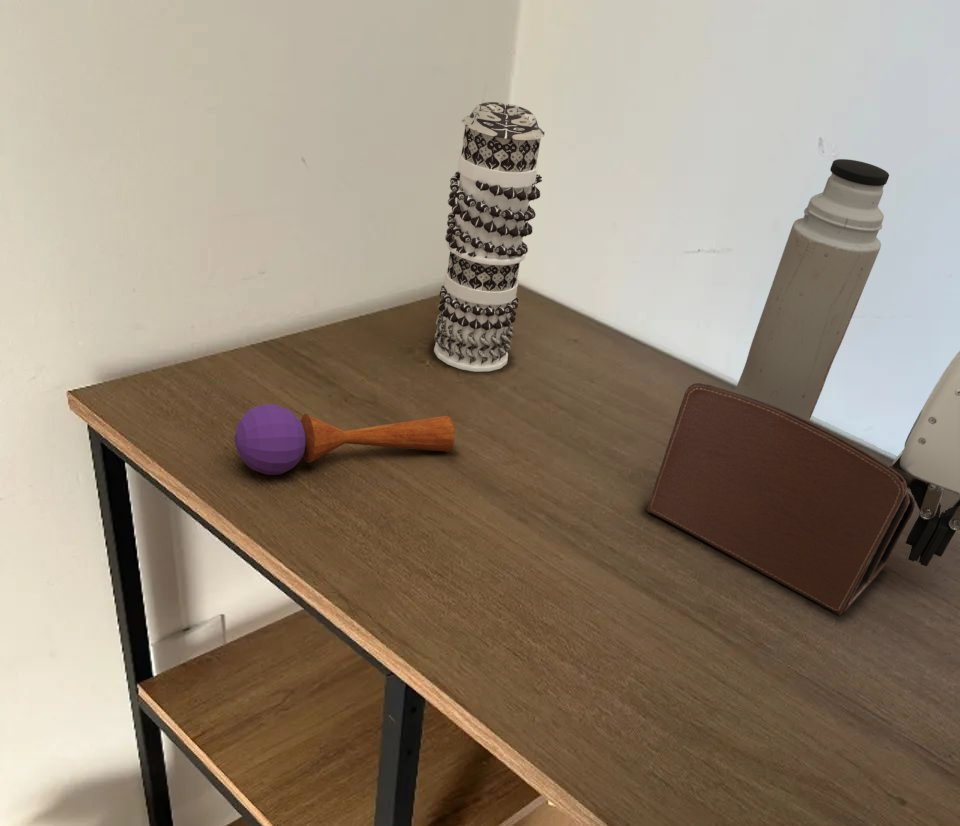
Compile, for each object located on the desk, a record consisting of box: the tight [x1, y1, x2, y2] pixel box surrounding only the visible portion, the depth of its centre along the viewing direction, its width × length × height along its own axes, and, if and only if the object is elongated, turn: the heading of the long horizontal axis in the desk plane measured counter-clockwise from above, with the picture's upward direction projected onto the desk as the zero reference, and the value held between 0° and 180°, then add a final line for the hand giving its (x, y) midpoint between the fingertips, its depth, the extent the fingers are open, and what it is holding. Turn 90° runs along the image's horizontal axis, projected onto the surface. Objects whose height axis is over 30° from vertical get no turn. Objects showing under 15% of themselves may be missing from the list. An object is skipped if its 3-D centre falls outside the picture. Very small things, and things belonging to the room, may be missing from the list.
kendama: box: [234, 404, 456, 476], centre depth 87 cm, size 6×6×20 cm
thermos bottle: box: [734, 158, 890, 422], centre depth 92 cm, size 8×8×28 cm
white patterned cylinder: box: [433, 101, 545, 373], centre depth 100 cm, size 9×9×25 cm
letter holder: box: [646, 382, 916, 617], centre depth 83 cm, size 10×20×14 cm, turn 51°
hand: (919, 555), depth 82 cm, fingers closed
